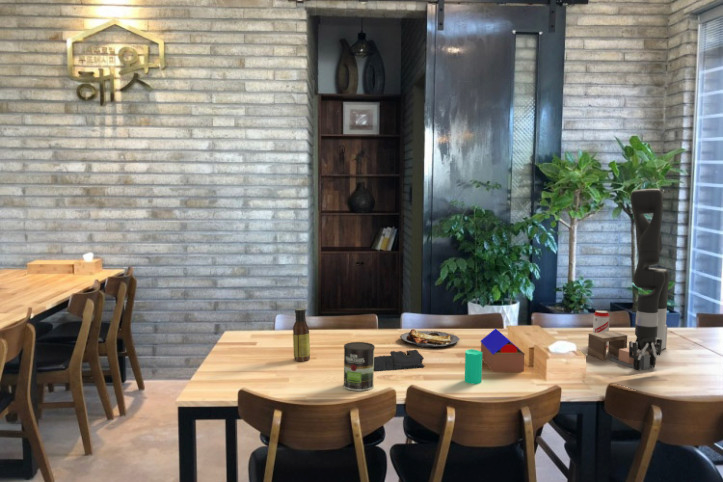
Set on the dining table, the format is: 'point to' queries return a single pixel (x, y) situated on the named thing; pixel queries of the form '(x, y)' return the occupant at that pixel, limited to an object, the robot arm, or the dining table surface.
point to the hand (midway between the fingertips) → (644, 368)
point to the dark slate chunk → (399, 361)
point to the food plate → (429, 338)
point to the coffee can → (358, 366)
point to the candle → (473, 366)
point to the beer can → (601, 322)
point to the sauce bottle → (301, 337)
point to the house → (501, 353)
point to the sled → (643, 362)
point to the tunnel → (605, 343)
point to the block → (625, 356)
